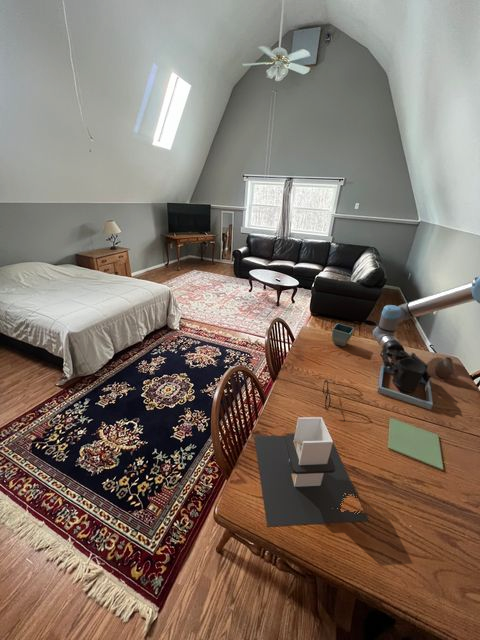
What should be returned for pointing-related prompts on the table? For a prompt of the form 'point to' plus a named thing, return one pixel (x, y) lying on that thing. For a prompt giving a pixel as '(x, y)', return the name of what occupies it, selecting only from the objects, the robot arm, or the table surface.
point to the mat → (415, 443)
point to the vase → (445, 368)
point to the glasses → (330, 398)
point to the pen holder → (409, 374)
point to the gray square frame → (404, 397)
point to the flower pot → (341, 334)
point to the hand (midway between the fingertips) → (414, 377)
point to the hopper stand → (304, 477)
